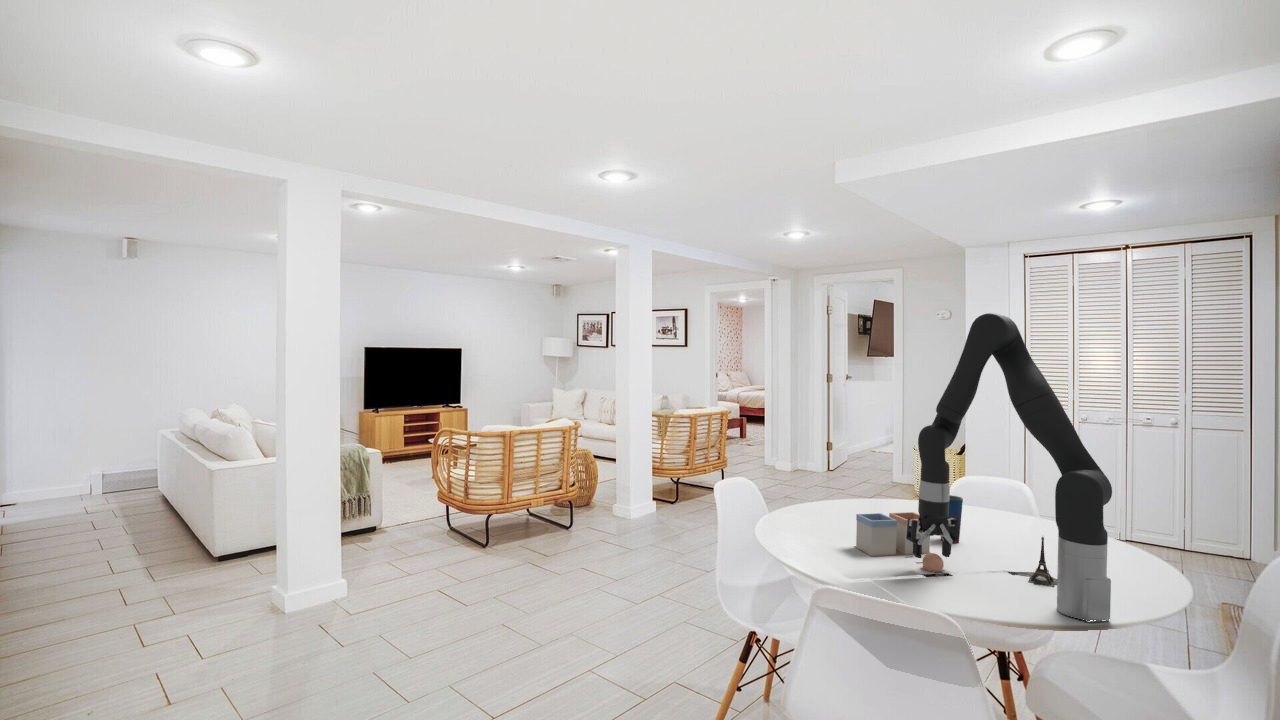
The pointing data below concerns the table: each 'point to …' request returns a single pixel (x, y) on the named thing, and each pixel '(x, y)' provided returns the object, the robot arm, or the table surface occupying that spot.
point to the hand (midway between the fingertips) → (931, 556)
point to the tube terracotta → (901, 532)
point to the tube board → (890, 555)
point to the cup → (955, 512)
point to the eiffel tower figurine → (1039, 572)
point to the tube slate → (876, 534)
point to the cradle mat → (934, 572)
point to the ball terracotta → (933, 562)
